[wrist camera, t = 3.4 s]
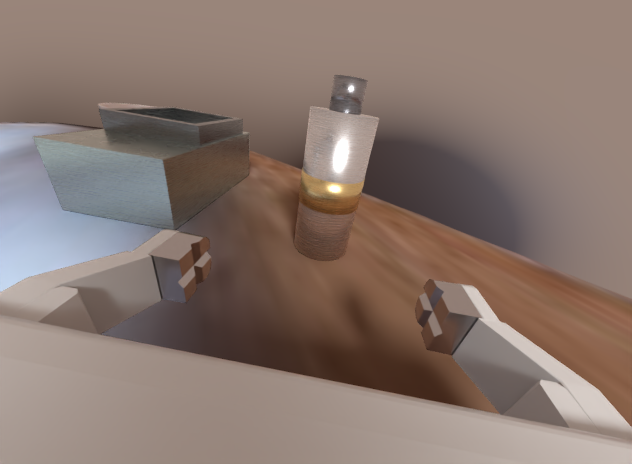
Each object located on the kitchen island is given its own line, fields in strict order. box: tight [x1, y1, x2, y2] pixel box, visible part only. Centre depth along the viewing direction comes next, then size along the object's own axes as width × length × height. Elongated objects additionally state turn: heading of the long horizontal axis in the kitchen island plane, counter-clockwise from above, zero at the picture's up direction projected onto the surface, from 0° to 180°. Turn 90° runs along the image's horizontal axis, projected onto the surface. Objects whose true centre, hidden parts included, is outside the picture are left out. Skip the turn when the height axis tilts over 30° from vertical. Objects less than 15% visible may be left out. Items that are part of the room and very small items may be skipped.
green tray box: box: [33, 107, 249, 230], centre depth 26 cm, size 11×18×8 cm, turn 174°
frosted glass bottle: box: [294, 75, 379, 261], centre depth 19 cm, size 5×5×13 cm
